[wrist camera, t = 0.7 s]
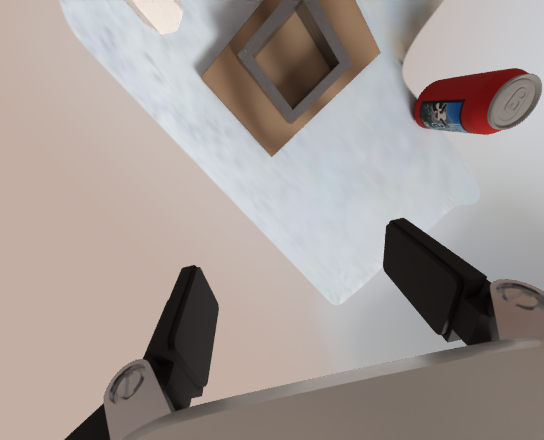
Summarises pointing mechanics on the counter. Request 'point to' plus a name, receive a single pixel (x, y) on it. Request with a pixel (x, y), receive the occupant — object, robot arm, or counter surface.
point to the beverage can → (479, 102)
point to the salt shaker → (158, 14)
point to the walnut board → (287, 69)
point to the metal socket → (324, 38)
